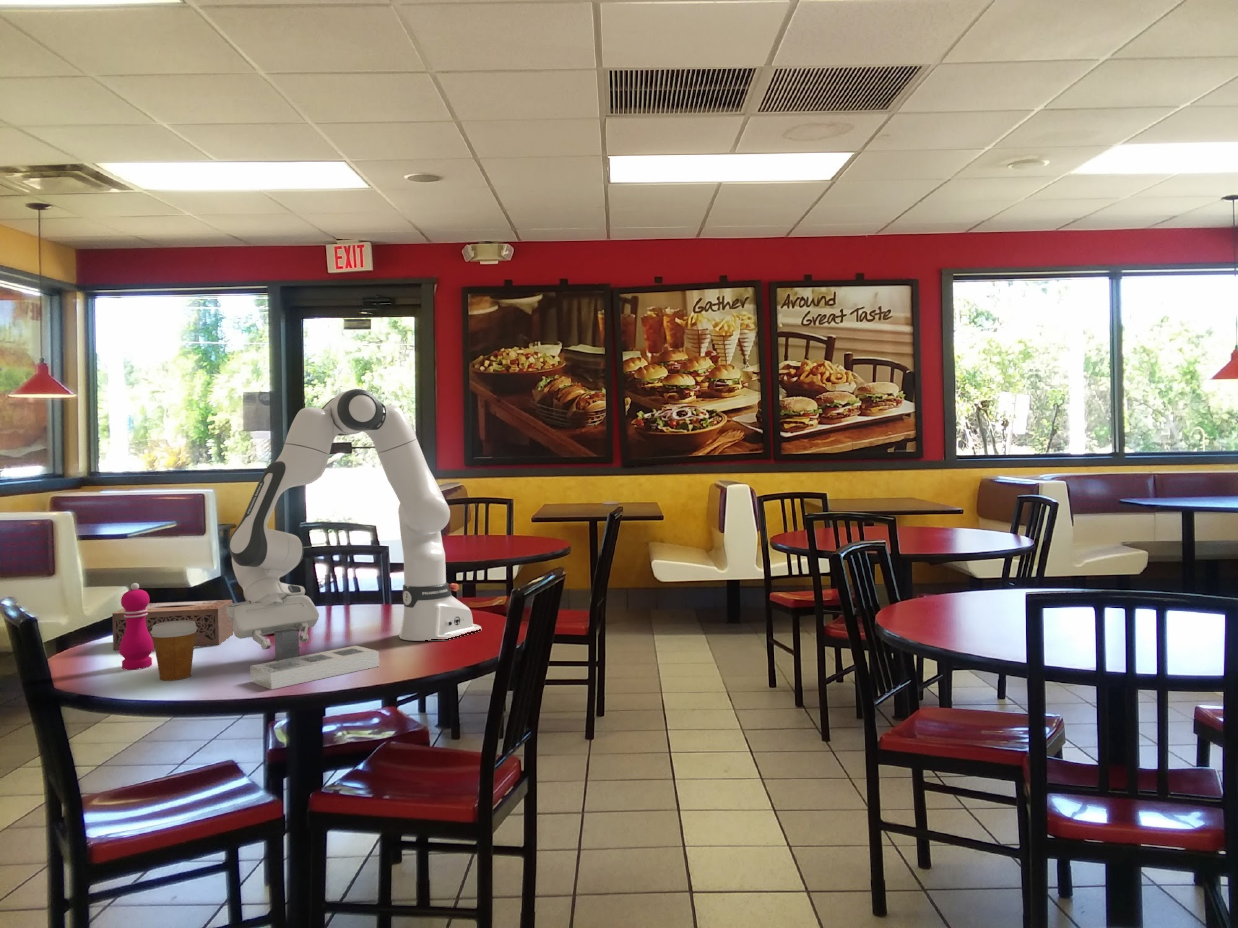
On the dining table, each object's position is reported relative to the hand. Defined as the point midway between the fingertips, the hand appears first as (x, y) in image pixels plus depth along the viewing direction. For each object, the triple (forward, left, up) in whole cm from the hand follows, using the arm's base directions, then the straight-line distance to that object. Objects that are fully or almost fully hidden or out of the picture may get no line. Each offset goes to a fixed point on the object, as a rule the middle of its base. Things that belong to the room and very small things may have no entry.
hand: (286, 644), depth 211 cm
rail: (0, +14, -5) cm, 15 cm away
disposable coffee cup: (+22, -9, -5) cm, 24 cm away
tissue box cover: (+7, -49, -5) cm, 50 cm away
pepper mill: (+24, -27, -5) cm, 36 cm away
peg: (0, 0, -5) cm, 5 cm away
